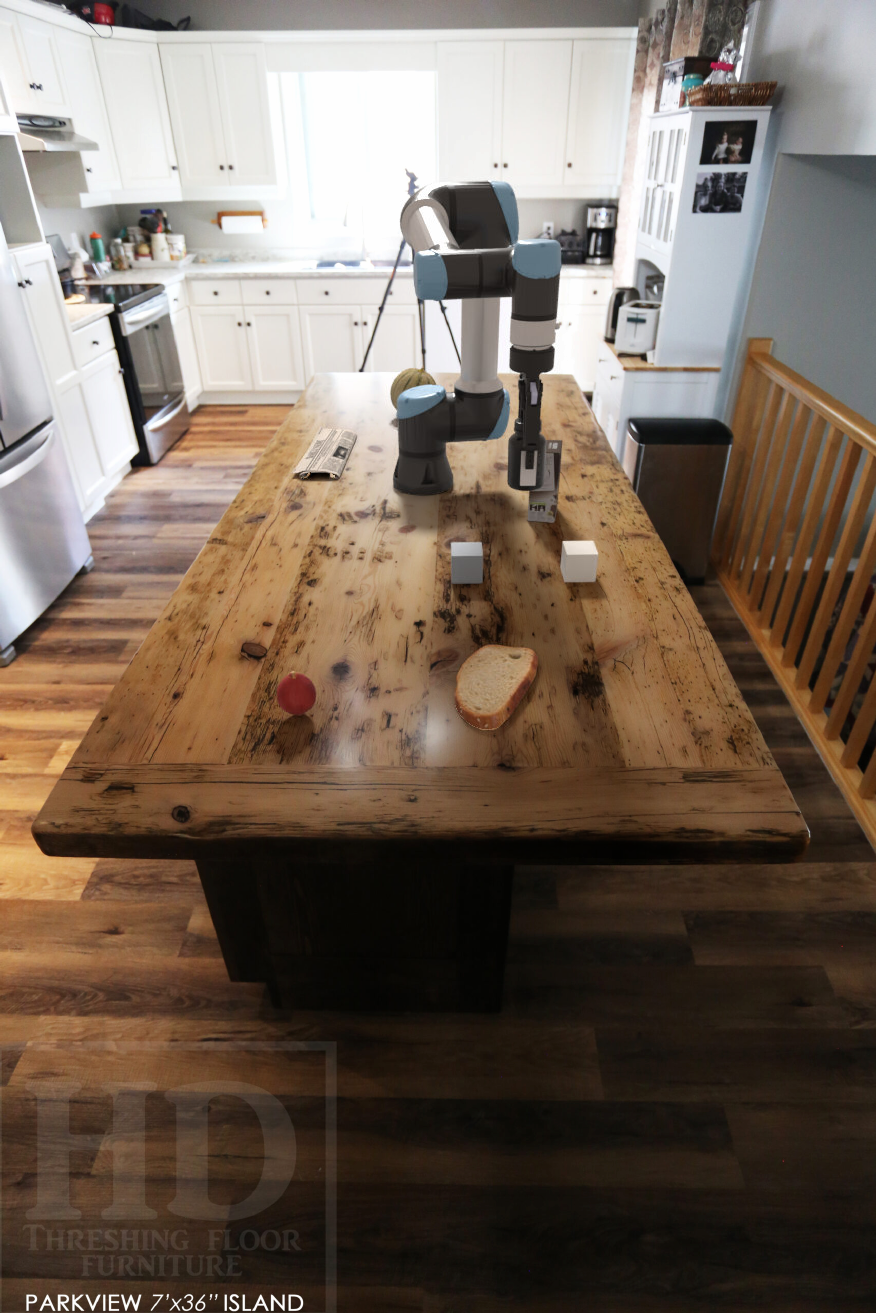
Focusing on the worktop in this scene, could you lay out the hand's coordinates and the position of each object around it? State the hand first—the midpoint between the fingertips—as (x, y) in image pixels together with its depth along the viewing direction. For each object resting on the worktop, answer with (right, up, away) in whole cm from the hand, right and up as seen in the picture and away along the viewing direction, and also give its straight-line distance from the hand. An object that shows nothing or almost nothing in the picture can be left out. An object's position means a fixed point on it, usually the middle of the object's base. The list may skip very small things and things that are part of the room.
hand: (525, 477), depth 140 cm
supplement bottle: (0, -1, +1) cm, 2 cm away
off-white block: (+11, -17, +10) cm, 23 cm away
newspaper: (-47, +22, +71) cm, 88 cm away
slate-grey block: (-10, -17, +11) cm, 23 cm away
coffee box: (+8, 0, +35) cm, 36 cm away
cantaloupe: (-23, +42, +100) cm, 111 cm away
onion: (-37, -42, -25) cm, 61 cm away
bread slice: (-6, -38, -20) cm, 43 cm away
